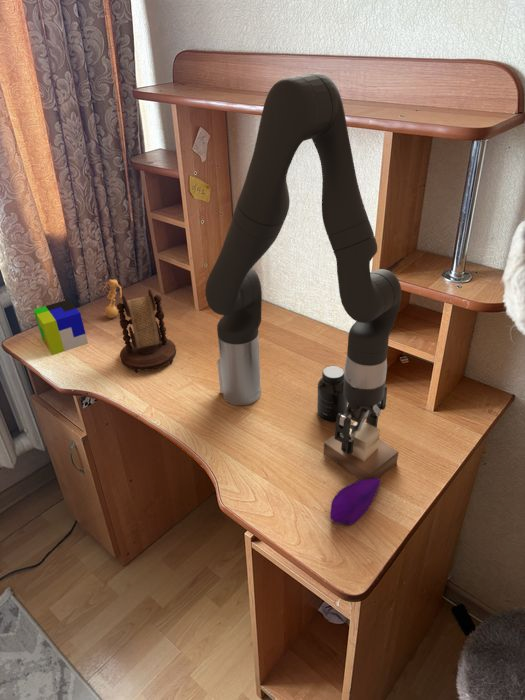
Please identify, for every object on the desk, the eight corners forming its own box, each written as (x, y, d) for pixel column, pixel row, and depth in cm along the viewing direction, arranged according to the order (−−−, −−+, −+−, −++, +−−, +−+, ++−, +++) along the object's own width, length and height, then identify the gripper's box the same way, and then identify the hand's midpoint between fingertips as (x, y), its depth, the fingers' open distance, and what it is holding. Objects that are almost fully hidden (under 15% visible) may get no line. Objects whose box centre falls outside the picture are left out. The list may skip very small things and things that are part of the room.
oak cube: (343, 449, 109) (344, 431, 107) (357, 436, 112) (358, 418, 110) (364, 461, 106) (365, 443, 104) (377, 448, 109) (380, 429, 107)
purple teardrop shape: (391, 476, 103) (344, 517, 93) (387, 495, 105) (341, 537, 95) (370, 463, 105) (322, 502, 96) (367, 482, 108) (320, 522, 98)
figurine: (98, 316, 166) (90, 281, 159) (113, 308, 170) (106, 273, 163) (117, 323, 162) (109, 287, 155) (132, 315, 166) (125, 280, 159)
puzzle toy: (88, 343, 153) (80, 312, 148) (52, 355, 149) (43, 324, 143) (76, 328, 160) (68, 299, 155) (42, 339, 156) (33, 309, 150)
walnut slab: (323, 456, 114) (324, 442, 111) (351, 436, 118) (353, 422, 116) (367, 488, 106) (369, 474, 104) (396, 465, 111) (398, 451, 108)
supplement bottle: (327, 400, 128) (329, 358, 122) (352, 411, 124) (355, 369, 118) (311, 415, 124) (311, 373, 117) (336, 427, 120) (338, 384, 114)
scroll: (128, 380, 137) (113, 312, 126) (116, 352, 149) (102, 287, 138) (183, 365, 142) (174, 298, 131) (168, 339, 154) (158, 275, 143)
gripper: (368, 351, 106) (363, 414, 114) (325, 385, 97) (322, 451, 106) (403, 365, 101) (394, 430, 110) (360, 402, 93) (354, 469, 102)
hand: (359, 440), depth 108 cm, fingers open, 8 cm apart
